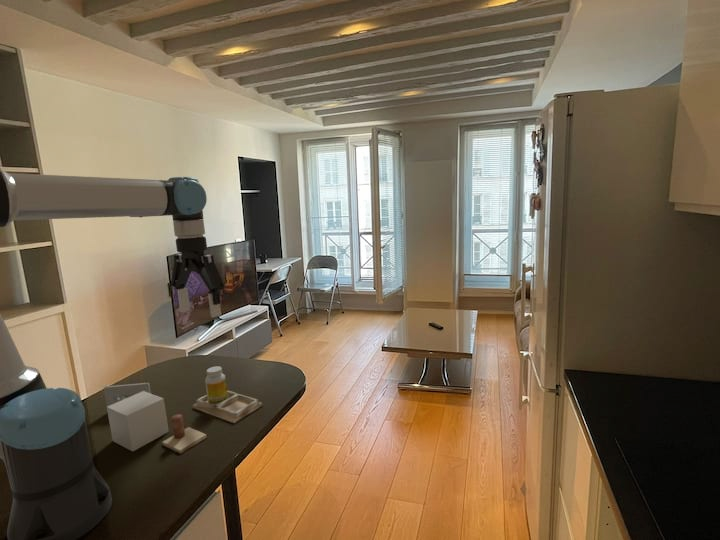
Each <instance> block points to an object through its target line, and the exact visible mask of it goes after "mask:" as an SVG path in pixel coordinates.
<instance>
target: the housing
mask: <svg viewBox="0 0 720 540" xmlns="http://www.w3.org/2000/svg"><path fill="white" fill-rule="evenodd" d="M125 398H126V399H124V400H121V401H119V402H117V403H114V404H112V405H110V406H108V407H107V406H106V411H107V418H108V422H109V429H110V433H111V439H112V442H114V443H116V444H118V445H120V446H122V447H123V448H125V449H127V450H129V451H131V452H134V451H137V450H138V449H140V448H142V447H144V446H146V445H147V444H149V443H151V442H153V441H155V440H156V439H158V438H160V437H162V436H164V435H166V434H168V433H169V432H170V431H169V426H168V418H167V410H166V405H165V400H164V399H165V398H164V397H161V396H160V395H159V396H158V395H155V394H152V393H151V394H150V393H148V392H145V391H142V392H140V393H138V394H135V395H133V396H132V395H130V396H128V397H125Z"/></svg>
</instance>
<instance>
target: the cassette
mask: <svg viewBox="0 0 720 540" xmlns="http://www.w3.org/2000/svg"><path fill="white" fill-rule="evenodd" d="M142 391H145V392H148V393H150V394H152V391H151V385H150V383H149V382H140V383H139V382H138V383H130V384H129V383H128V384H117V385H107V386H105V387H104V388H103V394H104V398H105V405H106V408H107V407H108V406H110V405H112V404H114V403H117V402H119V401H121V400H124V399H126V398H127V397H125V396H133V395H135V394H138V393H140V392H142Z"/></svg>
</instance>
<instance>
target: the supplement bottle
mask: <svg viewBox="0 0 720 540" xmlns="http://www.w3.org/2000/svg"><path fill="white" fill-rule="evenodd" d="M204 381H205V382H204V383H205V388H206V390H205V391H206V395H207V399H208V403H210V404H213V405H217V404H219V403H221V402H222V401H224V400H226V399H228V395H227V390H228V386H227V380H226V375H225V374H224V373H223V368H222V366H218V365H217V366H212V367H209V368H208V369H206V377H205V380H204Z"/></svg>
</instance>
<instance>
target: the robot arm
mask: <svg viewBox="0 0 720 540" xmlns="http://www.w3.org/2000/svg"><path fill="white" fill-rule="evenodd" d="M207 198H208V197H207V192H206V190H205V188H204V187H203V186H202V184H201V183H200V182H199V180H198V179H197V178H196V177H194V176H175V177H170V178H168V179H167V180H163V179H160V180H159V179H148V178H147V179H146V178H145V179H142V178H140V179H139V178H126V177H125V178H124V177H123V178H120V177H101V176H80V175H79V176H78V175H77V176H76V175H59V174H57V175H55V174H36V173H34V174H33V173H31V174H30V173H14V172H13V173H8V172H6V171H4V169H2V167H1V168H0V228H6V227H8V226H9V225H10V224H11V223H12V222H14V221H30V220H31V221H32V220H33V221H34V220H54V219H55V220H59V219H61V220H62V219H89V218H91V219H93V218H95V219H96V218H120V217H121V218H122V217H130V218H139V219H140V218H145V217H147V218H148V217H164V216H165V217H166V216H172V217H171V218H172V221H173V222H172V224H173V231H174V236H175V237H177V238H176V239H175V246H176V251H177V254H176V253H175V254H174V255H173V268H172V274H171V279H170V286H171V287H174V288H175V290H176V293H177V299H178V305H179V312H180V313H185V312H187V311H191V305H190V298H189V291H188V285H187V283H188V281H189V279H190V278H189V277H190V276H191V274H192V272H193V273H196V274H197V275H199V277H200V278H201V279H202V281H203V283H204V285H205V286H206V287H207V289H208V292H207V294H208V296H207V297H208V303H209V310H210V311H209V313H210V318H217V317H219V316H222V310H221V294H220V293H221V291H224V290H225V289H226V286H225V284H224V281H223V279H222V277H221V275H220V273H219V270H218V268H217V266H216V263H215V258H214V255H213V254H206V255H205V251H206V250H208V244H207V237H206V236H205V234H206V228H205V223H204V211H203V210H204V208H205V207H206V205H207V200H208V199H207ZM88 431H89V430H88V426H87V419H86V410H85V407H84V405H83V402H82V399H81V397H80V395H79V394H78V393H77V392H76V391H74V390H72V389H69V388H65V387H57V388H53V387H47V386H46V384H45V381H44V380H43V377H42V375H41V372H40V371H39V369H38V368H36V367H32V366H27V365H26V364H25V363H24V361H23V359H22V356H21V354H20V352H19V350H18V348H17V346H16V343H15V341H14V340H13V338H12V335H11V333H10V332H9V329H8V327H7V324H6V322H5V320H4V319H3V316H2V314H1V313H0V459H1V460H2V461H3V463H4V465H5V468H6V472H7V477H8V482H9V486H10V489H11V493H12V504H11V509H10V515H9V520H8V524H7V529H6V537H7V540H79V539H80V538H81V537H83V536H85V535H86V534H87V533H89V532H90V531H92V530H93V529H94V528H96V527H97V526H98V525H99V524H100V523H101V521H102V520H104V518H105V517H106V516H107V514H108V512H109V511H110V509H111V507H112V503H113V499H112V493H111V488H110V486H109V485H108V483H107V482H106V480H105V479H104V478H103V477H102V475H101V474H100V472H99V470H97V468H96V466H95V464H94V460H93V453H92V447H91V443H90V436H89V432H88Z"/></svg>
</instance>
